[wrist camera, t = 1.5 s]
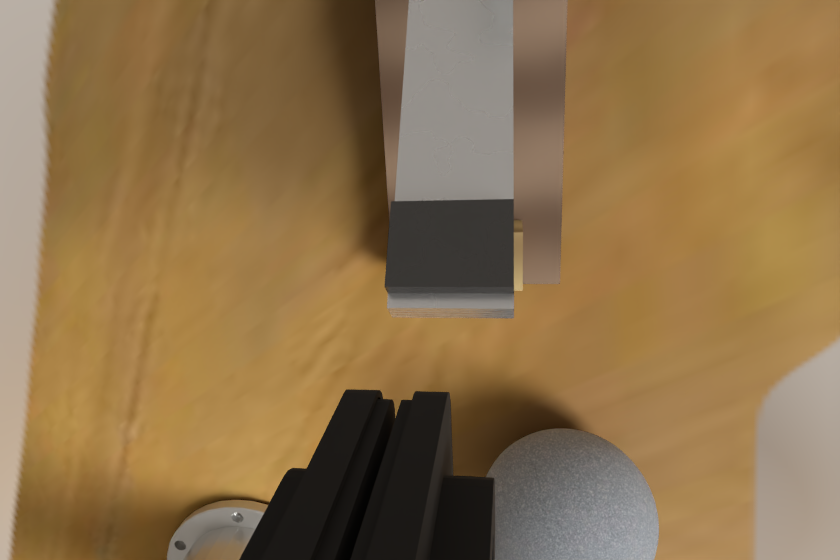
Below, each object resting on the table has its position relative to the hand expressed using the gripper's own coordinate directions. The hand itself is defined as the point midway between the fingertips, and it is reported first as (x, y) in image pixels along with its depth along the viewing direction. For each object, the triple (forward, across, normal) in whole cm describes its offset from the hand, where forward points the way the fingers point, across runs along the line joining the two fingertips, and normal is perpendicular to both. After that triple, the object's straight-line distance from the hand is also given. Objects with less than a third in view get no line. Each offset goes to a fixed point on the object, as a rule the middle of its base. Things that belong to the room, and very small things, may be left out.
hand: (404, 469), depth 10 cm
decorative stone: (+27, -5, +19) cm, 33 cm away
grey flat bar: (+16, 0, -4) cm, 17 cm away
